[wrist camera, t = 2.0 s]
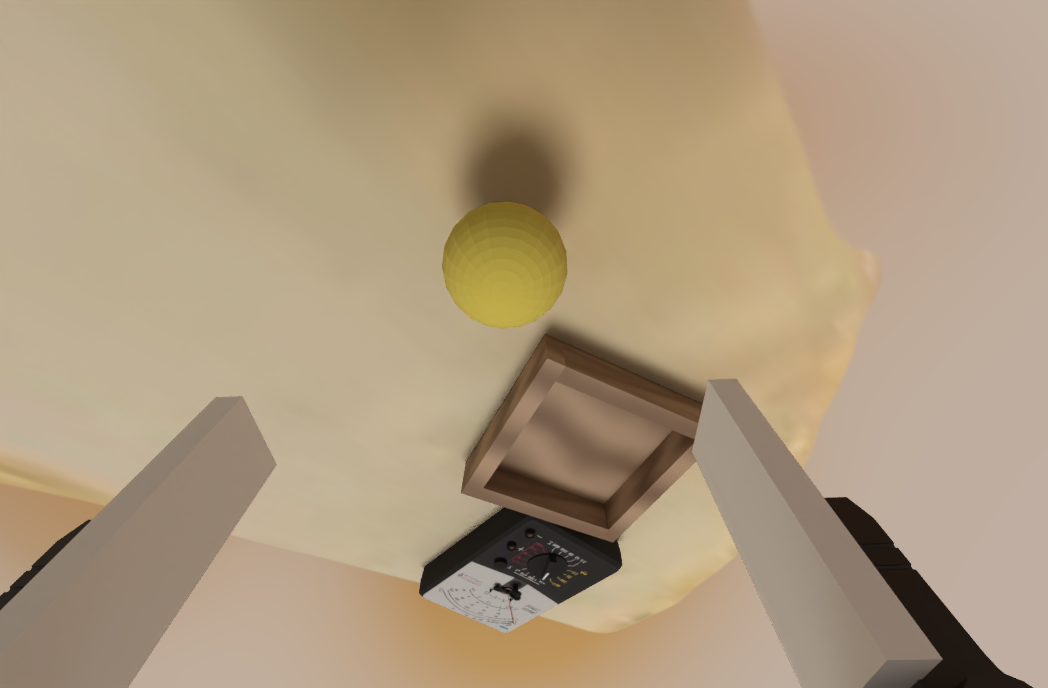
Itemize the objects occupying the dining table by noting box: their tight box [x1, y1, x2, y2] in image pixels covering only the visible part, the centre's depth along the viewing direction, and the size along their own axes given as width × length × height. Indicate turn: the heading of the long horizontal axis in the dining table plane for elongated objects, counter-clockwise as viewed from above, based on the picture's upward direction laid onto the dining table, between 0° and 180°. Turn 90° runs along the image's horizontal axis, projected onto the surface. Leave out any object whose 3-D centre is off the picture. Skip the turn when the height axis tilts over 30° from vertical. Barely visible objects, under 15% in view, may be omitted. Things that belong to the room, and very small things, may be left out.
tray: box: [461, 334, 703, 542], centre depth 36 cm, size 16×16×3 cm
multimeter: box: [419, 508, 622, 633], centre depth 46 cm, size 13×19×5 cm
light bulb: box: [442, 201, 567, 328], centre depth 24 cm, size 7×7×10 cm
